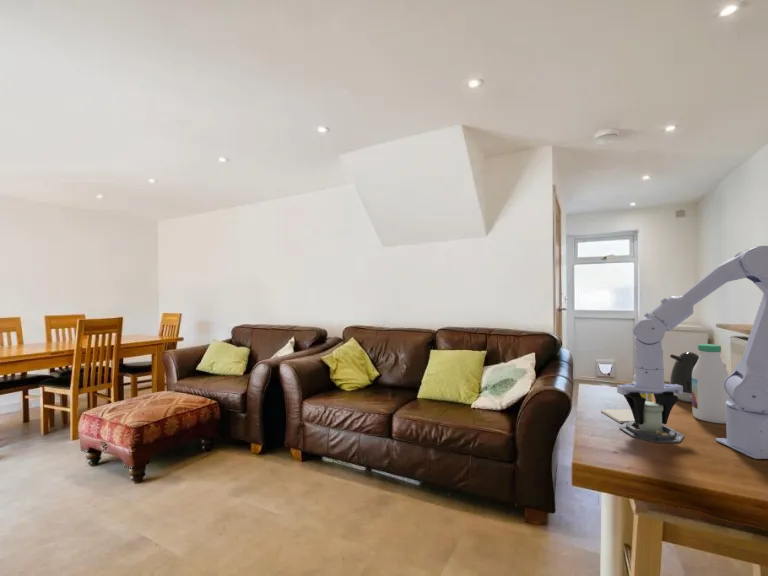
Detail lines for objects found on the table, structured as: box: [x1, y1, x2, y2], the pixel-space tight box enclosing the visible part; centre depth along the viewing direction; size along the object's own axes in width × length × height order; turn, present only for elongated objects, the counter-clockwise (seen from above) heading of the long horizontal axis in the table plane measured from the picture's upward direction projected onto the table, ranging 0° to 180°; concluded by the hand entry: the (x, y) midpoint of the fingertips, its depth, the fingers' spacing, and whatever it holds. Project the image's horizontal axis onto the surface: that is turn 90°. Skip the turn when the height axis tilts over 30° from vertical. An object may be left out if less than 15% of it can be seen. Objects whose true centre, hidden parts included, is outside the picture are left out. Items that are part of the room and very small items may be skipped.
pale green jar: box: [638, 401, 663, 434], centre depth 90 cm, size 6×5×7 cm
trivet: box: [600, 408, 635, 424], centre depth 100 cm, size 9×9×1 cm
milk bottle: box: [691, 343, 730, 424], centre depth 98 cm, size 8×8×20 cm
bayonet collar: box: [619, 421, 685, 444], centre depth 89 cm, size 12×12×2 cm
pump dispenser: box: [669, 351, 699, 404], centre depth 113 cm, size 10×10×15 cm
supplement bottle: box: [631, 374, 653, 402], centre depth 112 cm, size 5×5×8 cm
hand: (650, 422), depth 90 cm, fingers closed on pale green jar, 5 cm apart
